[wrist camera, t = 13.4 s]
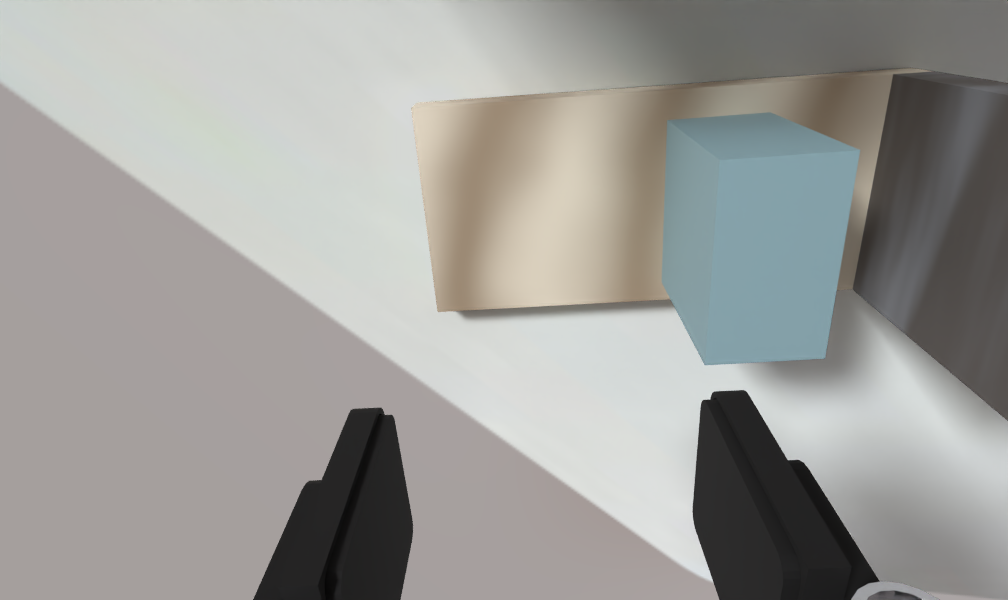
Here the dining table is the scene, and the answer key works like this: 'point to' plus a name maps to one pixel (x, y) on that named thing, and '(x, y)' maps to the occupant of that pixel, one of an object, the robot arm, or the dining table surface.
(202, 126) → the dining table surface
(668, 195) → the pale blue upright box
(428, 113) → the wooden bookend
